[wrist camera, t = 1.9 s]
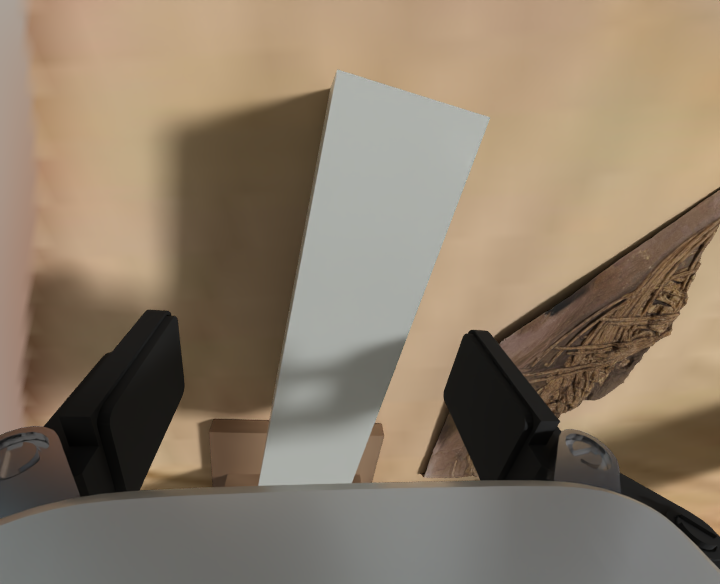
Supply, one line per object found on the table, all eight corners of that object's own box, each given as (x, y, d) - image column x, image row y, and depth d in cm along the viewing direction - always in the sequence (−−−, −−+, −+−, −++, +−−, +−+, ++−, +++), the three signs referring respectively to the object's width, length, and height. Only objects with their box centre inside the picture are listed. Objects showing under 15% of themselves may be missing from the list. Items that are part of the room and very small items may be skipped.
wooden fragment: (472, 491, 29) (477, 503, 28) (369, 449, 25) (371, 462, 24) (768, 253, 20) (789, 260, 19) (681, 137, 17) (702, 138, 16)
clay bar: (420, 115, 15) (490, 117, 9) (339, 388, 22) (346, 497, 16) (330, 88, 14) (337, 69, 8) (276, 380, 21) (257, 492, 15)
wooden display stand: (381, 423, 23) (403, 535, 17) (343, 572, 32) (349, 680, 26) (213, 419, 22) (170, 541, 15) (222, 577, 31) (198, 694, 24)
